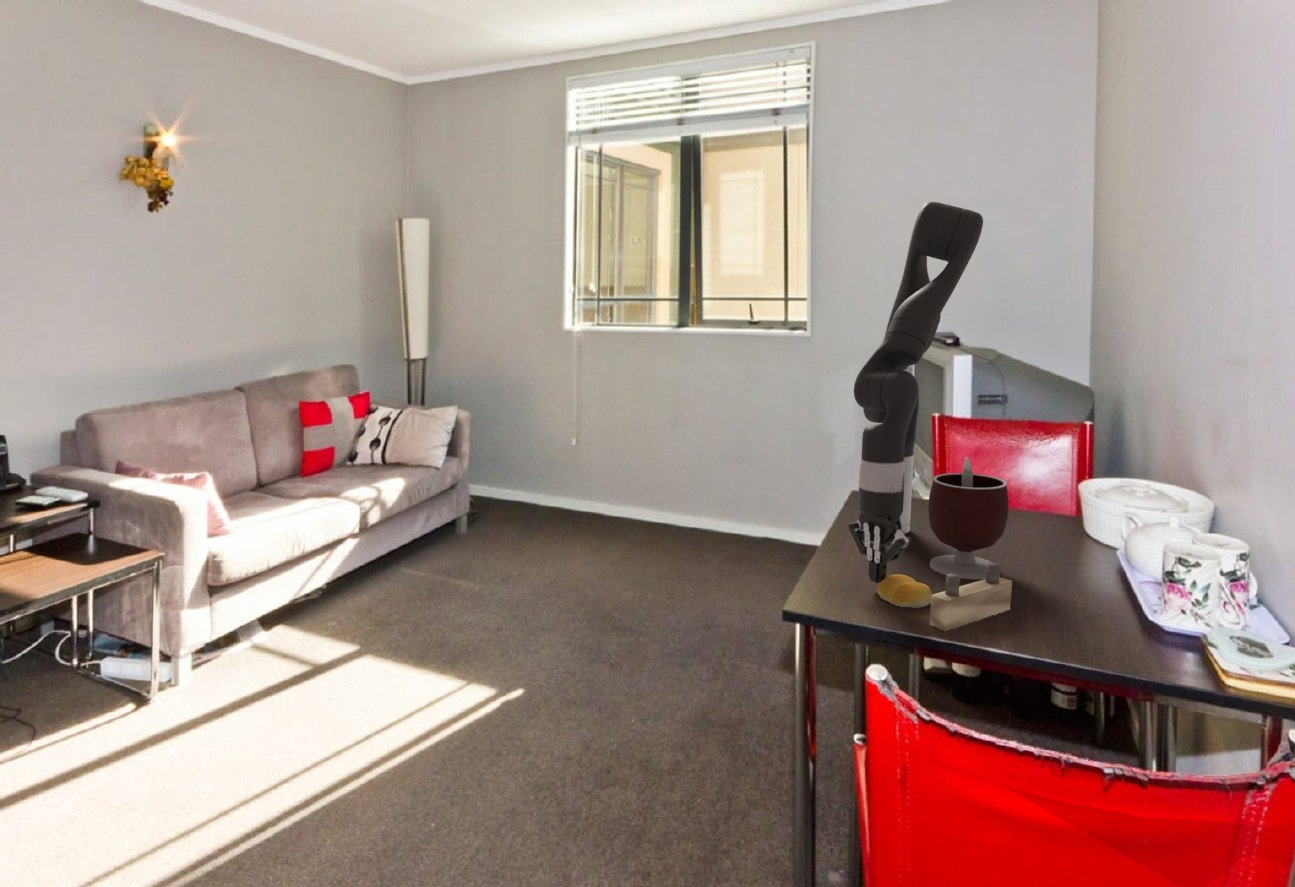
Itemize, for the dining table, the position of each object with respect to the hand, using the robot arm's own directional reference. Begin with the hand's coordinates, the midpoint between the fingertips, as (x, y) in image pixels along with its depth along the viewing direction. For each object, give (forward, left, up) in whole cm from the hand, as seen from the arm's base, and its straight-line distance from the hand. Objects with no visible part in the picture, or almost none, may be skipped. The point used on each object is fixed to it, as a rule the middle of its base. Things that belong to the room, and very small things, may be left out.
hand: (876, 581), depth 139 cm
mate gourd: (0, +23, -2) cm, 23 cm away
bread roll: (+5, +1, -2) cm, 6 cm away
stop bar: (+17, +3, -2) cm, 17 cm away
